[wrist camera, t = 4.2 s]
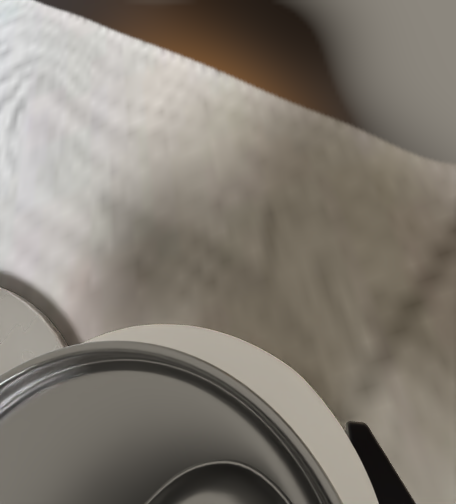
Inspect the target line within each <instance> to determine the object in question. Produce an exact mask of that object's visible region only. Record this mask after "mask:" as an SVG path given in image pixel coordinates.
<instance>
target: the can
mask: <svg viewBox="0 0 456 504" xmlns="http://www.w3.org/2000/svg"><path fill="white" fill-rule="evenodd" d="M0 504H379V503H378V500H377V497H376V494H375V492H374V489H373V486H372V484H371V482H370V479H369V477H368V475H367V472H366V470H365V468H364V466H363V464H362V462H361V460H360V458H359V456H358V454H357V452H356V450H355V448H354V447H353V445H352V443H351V441H350V440H349V438H348V436H347V435H346V433H345V431H344V430H343V428H342V426H341V425H340V423H339V422H338V420H337V419H336V418H335V416H334V415H333V413H332V412H331V411H330V409H329V408H328V407H327V405H326V404H325V403H324V401H323V400H322V399H321V398H320V397H319V395H318V394H317V393H316V392H315V391H314V389H313V388H312V387H311V386H310V385H309V384H308V383H307V382H306V381H305V380H304V379H303V378H302V377H301V376H300V375H299V374H298V373H297V372H296V371H295V370H294V369H292V368H291V367H290V366H288V365H287V364H285V363H284V362H282V361H281V360H279V359H278V358H276V357H275V356H273V355H271V354H270V353H268V352H266V351H264V350H262V349H261V348H259V347H257V346H255V345H253V344H251V343H248V342H246V341H244V340H241V339H239V338H236V337H234V336H231V335H228V334H225V333H222V332H219V331H215V330H211V329H207V328H202V327H197V326H190V325H179V324H150V325H140V326H133V327H128V328H123V329H119V330H115V331H112V332H109V333H106V334H103V335H100V336H97V337H95V338H92V339H90V340H88V341H86V342H83V343H81V344H76V345H72V346H67V347H64V348H60V349H56V350H53V351H50V352H47V353H45V354H42V355H39V356H37V357H34V358H32V359H30V360H28V361H25V362H23V363H21V364H19V365H17V366H15V367H14V368H12V369H10V370H8V371H7V372H5V373H3V374H2V375H0Z"/></svg>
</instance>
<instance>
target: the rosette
mask: <svg viewBox="0 0 456 504" xmlns="http://www.w3.org/2000/svg"><path fill="white" fill-rule="evenodd" d="M67 346H68V345H67V343H66V342H65V340H64V338H63V336H62V335H61V334H60V332H59V331H58V330H57V329H56V327H55V326H54V325H53V323H52V322H51V321H50V320H49V318H47V317H46V316H45V315H44V314H43V313H42V312H41V311H40V310H39V309H38V308H37V307H35V306H34V305H33V304H32V303H30V302H29V301H27V300H25V299H24V298H22V297H21V296H19V295H18V294H16V293H13V292H11V291H9V290H6V289H4V288H2V287H0V375H2V374H3V373H5V372H7V371H8V370H10V369H12V368H14V367H15V366H17V365H19V364H21V363H23V362H25V361H28V360H30V359H32V358H34V357H37V356H39V355H42V354H45V353H47V352H50V351H53V350H56V349H60V348H64V347H67Z"/></svg>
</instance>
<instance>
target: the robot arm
mask: <svg viewBox="0 0 456 504" xmlns="http://www.w3.org/2000/svg"><path fill="white" fill-rule="evenodd" d="M345 433H346V435H347V436H348V438H349V440H350V441H351V443H352V445H353V447H354V448H355V450H356V452H357V454H358V456H359V458H360V460H361V462H362V464H363V466H364V468H365V470H366V472H367V475H368V477H369V479H370V482H371V484H372V486H373V489H374V492H375V494H376V497H377V500H378V503H379V504H416V503H415V502H414V500H413V498H412V497H411V495H410V494H409V492H408V490H407V489H406V487H405V485H404V484H403V482H402V481H401V479H400V477H399V476H398V474H397V472H396V471H395V469H394V468H393V466H392V464H391V463H390V461H389V460H388V458H387V456H386V455H385V453H384V451H383V450H382V448H381V447H380V445H379V443H378V442H377V440H376V438H375V437H374V435H373V434H372V432H371V430H370V429H369V427H368V426H367V425H366V424H365V423H362V422H353V421H348V422H347V424H346V430H345Z"/></svg>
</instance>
